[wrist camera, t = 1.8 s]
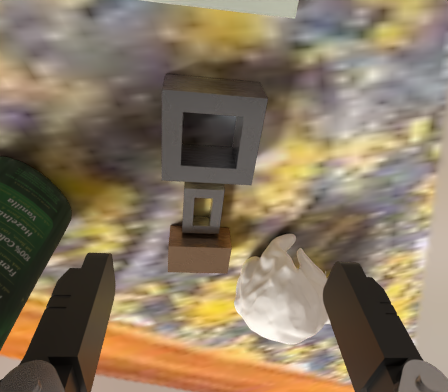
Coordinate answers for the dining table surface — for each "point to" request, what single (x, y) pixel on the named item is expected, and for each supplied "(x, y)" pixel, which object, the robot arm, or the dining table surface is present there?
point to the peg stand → (243, 6)
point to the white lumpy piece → (282, 294)
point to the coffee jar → (26, 234)
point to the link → (218, 105)
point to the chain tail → (200, 234)
